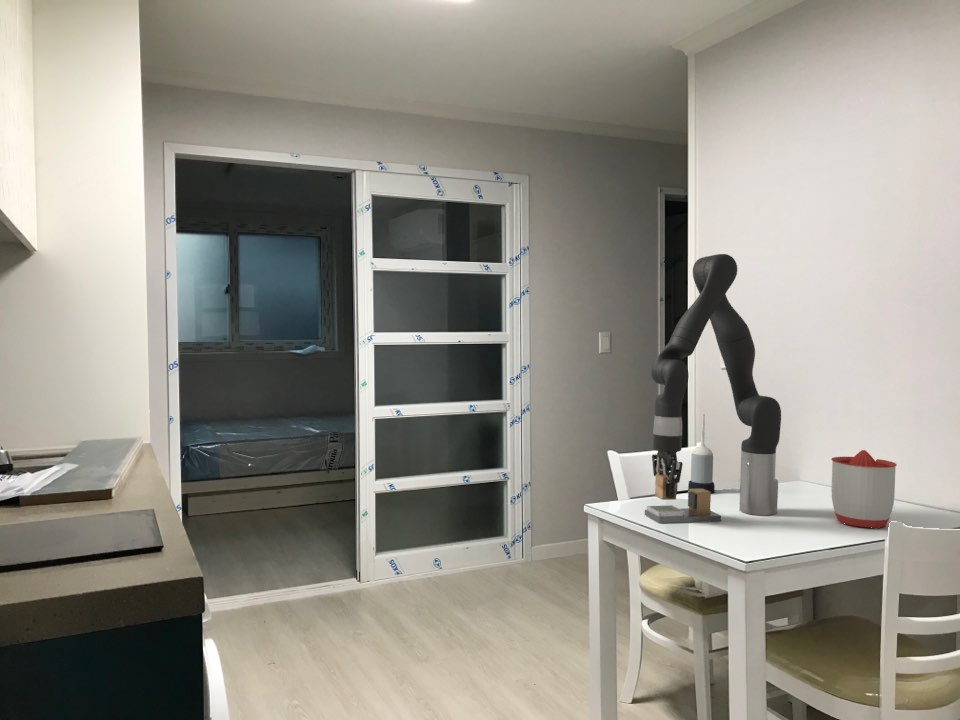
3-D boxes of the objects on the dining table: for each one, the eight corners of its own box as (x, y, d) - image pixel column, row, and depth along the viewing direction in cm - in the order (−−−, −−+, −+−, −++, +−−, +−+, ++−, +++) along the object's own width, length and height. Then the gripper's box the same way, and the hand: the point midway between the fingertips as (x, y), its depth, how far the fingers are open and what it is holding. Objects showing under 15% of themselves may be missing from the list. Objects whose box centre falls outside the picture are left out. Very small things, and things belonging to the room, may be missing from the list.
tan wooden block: (670, 495, 199) (670, 474, 199) (677, 499, 194) (678, 477, 194) (655, 496, 198) (655, 474, 198) (662, 499, 193) (663, 477, 193)
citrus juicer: (896, 520, 199) (898, 448, 198) (893, 534, 184) (895, 456, 184) (833, 512, 207) (835, 443, 207) (825, 525, 193) (828, 450, 192)
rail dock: (704, 513, 203) (705, 486, 203) (721, 521, 195) (721, 493, 194) (644, 515, 200) (645, 488, 200) (658, 523, 191) (659, 495, 191)
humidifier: (711, 489, 237) (713, 413, 236) (717, 494, 229) (719, 415, 228) (685, 488, 238) (688, 412, 237) (690, 493, 229) (693, 415, 229)
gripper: (693, 436, 189) (691, 501, 190) (668, 429, 203) (666, 489, 204) (666, 436, 188) (664, 501, 188) (643, 429, 202) (641, 490, 202)
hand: (665, 495), depth 196 cm, fingers closed on tan wooden block, 4 cm apart
